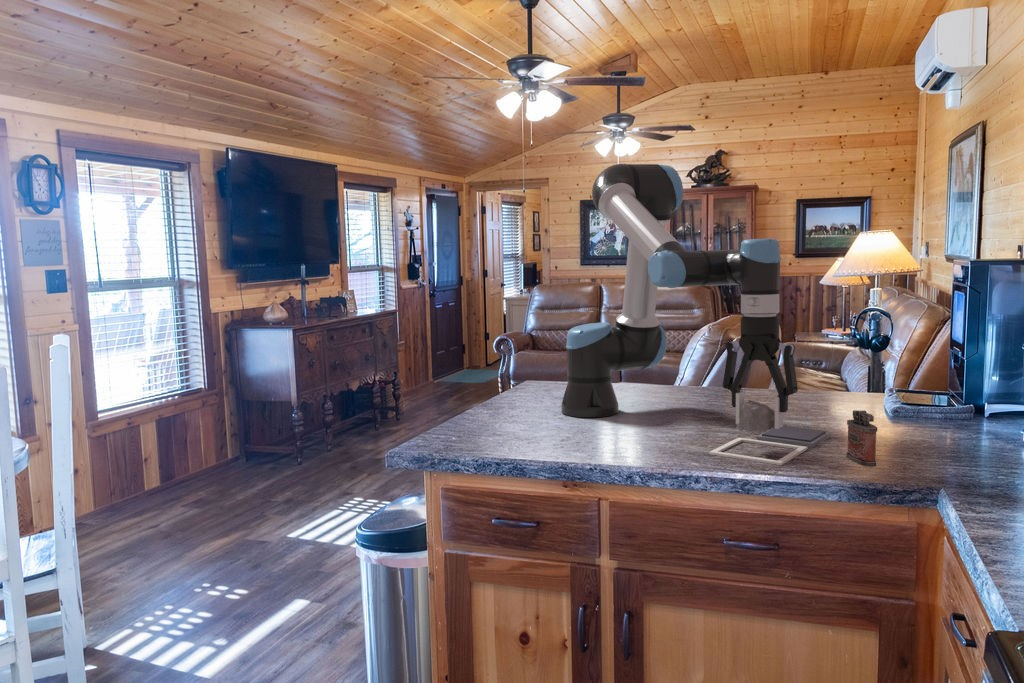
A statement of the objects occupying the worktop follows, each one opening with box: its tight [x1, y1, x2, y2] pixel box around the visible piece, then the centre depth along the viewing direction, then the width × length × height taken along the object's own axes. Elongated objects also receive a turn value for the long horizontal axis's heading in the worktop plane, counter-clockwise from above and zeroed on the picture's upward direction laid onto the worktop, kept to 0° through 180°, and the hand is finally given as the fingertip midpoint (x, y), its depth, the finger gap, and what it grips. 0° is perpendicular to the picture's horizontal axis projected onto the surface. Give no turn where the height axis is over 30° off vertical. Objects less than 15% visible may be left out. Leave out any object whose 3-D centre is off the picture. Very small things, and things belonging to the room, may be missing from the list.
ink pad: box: [756, 425, 831, 449], centre depth 169 cm, size 12×12×1 cm
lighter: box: [845, 409, 878, 468], centre depth 149 cm, size 8×3×10 cm, turn 5°
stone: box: [736, 399, 775, 432], centre depth 158 cm, size 10×8×6 cm
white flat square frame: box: [708, 437, 809, 466], centre depth 159 cm, size 15×15×1 cm
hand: (759, 425), depth 158 cm, fingers closed on stone, 7 cm apart
